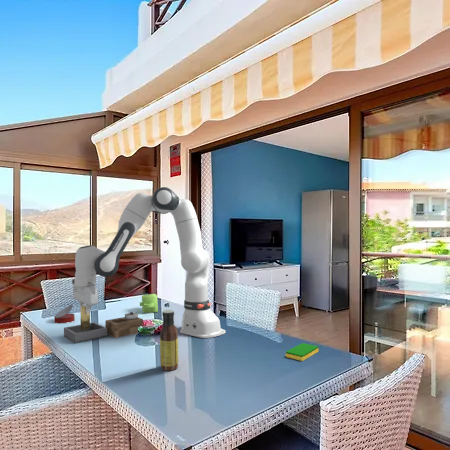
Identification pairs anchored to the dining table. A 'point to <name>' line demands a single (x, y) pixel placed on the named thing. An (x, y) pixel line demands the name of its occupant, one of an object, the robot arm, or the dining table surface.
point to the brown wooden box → (123, 325)
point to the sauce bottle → (168, 342)
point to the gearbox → (149, 303)
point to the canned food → (64, 315)
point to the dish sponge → (302, 351)
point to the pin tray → (85, 333)
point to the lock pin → (85, 319)
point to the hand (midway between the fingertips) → (85, 312)
